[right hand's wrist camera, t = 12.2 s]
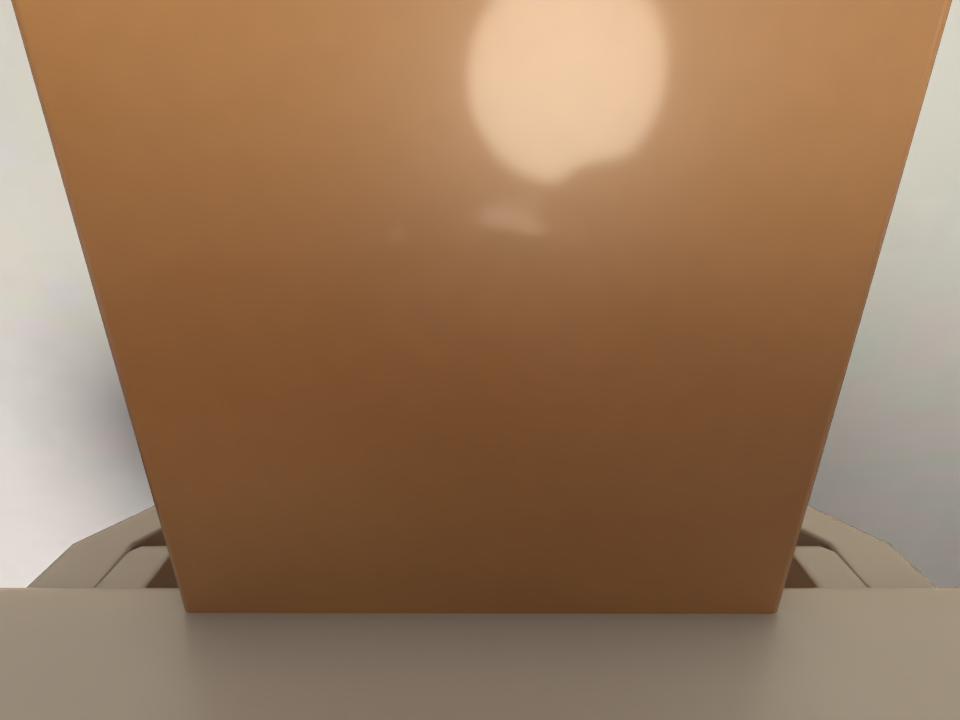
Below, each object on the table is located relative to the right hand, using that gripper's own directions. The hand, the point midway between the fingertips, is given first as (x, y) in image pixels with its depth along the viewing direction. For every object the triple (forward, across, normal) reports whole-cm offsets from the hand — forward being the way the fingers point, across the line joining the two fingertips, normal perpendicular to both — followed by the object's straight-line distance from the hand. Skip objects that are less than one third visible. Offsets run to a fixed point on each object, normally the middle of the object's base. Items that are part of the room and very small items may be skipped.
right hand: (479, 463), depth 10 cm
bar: (+4, 0, -8) cm, 9 cm away
